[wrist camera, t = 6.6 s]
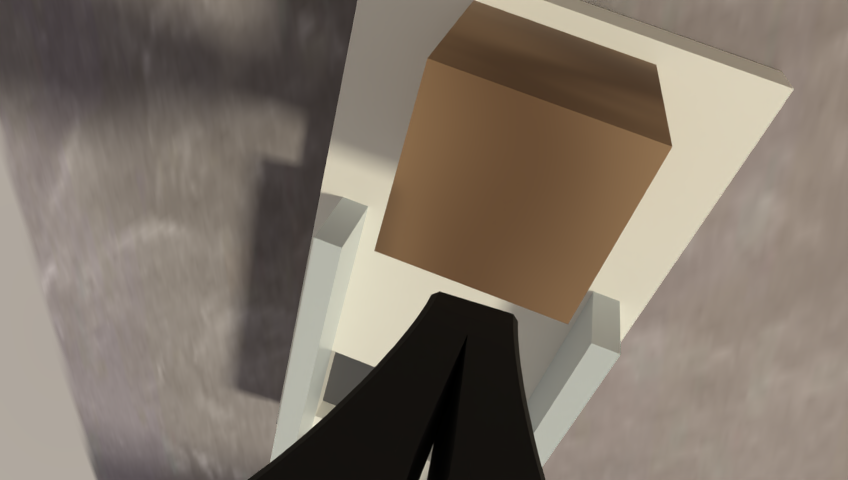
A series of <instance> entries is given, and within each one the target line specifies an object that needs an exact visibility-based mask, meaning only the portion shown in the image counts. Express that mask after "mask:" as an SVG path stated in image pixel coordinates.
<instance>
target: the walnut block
mask: <svg viewBox="0 0 848 480" xmlns="http://www.w3.org/2000/svg"><path fill="white" fill-rule="evenodd" d="M671 148H672V142H671V137H670V132H669V127H668V122H667V117H666V112H665V106H664V101H663V96H662V91H661V86H660V81H659V76H658V71H657V65H656V64H653V63H650V62H647V61H644V60H641V59H639V58H636V57H633V56H630V55H627V54H625V53H622V52H619V51H616V50H613V49H610V48H608V47H605V46H602V45H599V44H596V43H594V42H591V41H588V40H585V39H582V38H579V37H577V36H574V35H571V34H568V33H565V32H563V31H560V30H557V29H554V28H551V27H548V26H546V25H543V24H540V23H537V22H534V21H532V20H529V19H526V18H523V17H520V16H517V15H515V14H512V13H509V12H506V11H503V10H501V9H498V8H495V7H492V6H489V5H486V4H484V3H481V2H478V1H475V0H473V2H472V3H471V4H470V5H469V7H468V8H467V9H466V10H465V12H464V13H463V14H462V15H461V17H460V18H459V19H458V20H457V22H456V23H455V24H454V25H453V27H452V28H451V29H450V30H449V32H448V33H447V34H446V35H445V37H444V38H443V39H442V40H441V42H440V43H439V44H438V45H437V47H436V48H435V49H434V50H433V52H432V53H431V54H430V55H429V57H428V58H427V61H426V65H425V68H424V72H423V76H422V79H421V83H420V87H419V90H418V94H417V97H416V101H415V105H414V108H413V112H412V116H411V119H410V123H409V126H408V130H407V134H406V137H405V141H404V145H403V148H402V152H401V155H400V159H399V163H398V166H397V170H396V174H395V177H394V181H393V184H392V188H391V192H390V195H389V199H388V203H387V206H386V210H385V213H384V217H383V221H382V224H381V228H380V232H379V235H378V239H377V243H376V246H375V250H374V251H376V252H378V253H381V254H384V255H386V256H389V257H392V258H394V259H397V260H400V261H402V262H405V263H407V264H410V265H413V266H415V267H418V268H421V269H423V270H426V271H429V272H431V273H434V274H436V275H439V276H442V277H444V278H447V279H450V280H452V281H455V282H458V283H460V284H463V285H465V286H468V287H471V288H473V289H476V290H479V291H481V292H484V293H487V294H489V295H492V296H494V297H497V298H500V299H502V300H505V301H508V302H510V303H513V304H516V305H518V306H521V307H523V308H526V309H529V310H531V311H534V312H537V313H539V314H542V315H545V316H547V317H550V318H552V319H555V320H558V321H560V322H563V323H566V324H569V322H570V320H571V319H572V317H573V315H574V313H575V312H576V310H577V308H578V307H579V305H580V303H581V302H582V300H583V298H584V296H585V295H586V293H587V291H588V290H589V288H590V286H591V285H592V283H593V281H594V279H595V278H596V276H597V274H598V273H599V271H600V269H601V267H602V266H603V264H604V262H605V261H606V259H607V257H608V256H609V254H610V252H611V250H612V249H613V247H614V245H615V244H616V242H617V240H618V239H619V237H620V235H621V233H622V232H623V230H624V228H625V227H626V225H627V223H628V222H629V220H630V218H631V216H632V215H633V213H634V211H635V210H636V208H637V206H638V204H639V203H640V201H641V199H642V198H643V196H644V194H645V193H646V191H647V189H648V187H649V186H650V184H651V182H652V181H653V179H654V177H655V176H656V174H657V172H658V170H659V169H660V167H661V165H662V164H663V162H664V160H665V159H666V157H667V155H668V153H669V152H670V150H671Z"/></svg>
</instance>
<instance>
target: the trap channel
mask: <svg viewBox="0 0 848 480" xmlns="http://www.w3.org/2000/svg"><path fill="white" fill-rule="evenodd" d="M475 1H478V2H481V3H484V4H486V5H489V6H492V7H495V8H498V9H501V10H503V11H506V12H509V13H512V14H515V15H517V16H520V17H523V18H526V19H529V20H532V21H534V22H537V23H540V24H543V25H546V26H548V27H551V28H554V29H557V30H560V31H563V32H565V33H568V34H571V35H574V36H577V37H579V38H582V39H585V40H588V41H591V42H594V43H596V44H599V45H602V46H605V47H608V48H610V49H613V50H616V51H619V52H622V53H625V54H627V55H630V56H633V57H636V58H639V59H641V60H644V61H647V62H650V63H653V64H656V65H657V71H658V76H659V81H660V86H661V91H662V96H663V101H664V106H665V112H666V117H667V122H668V127H669V132H670V137H671V142H672V148H671V150H670V152H669V153H668V155H667V157H666V159H665V160H664V162H663V164H662V165H661V167H660V169H659V170H658V172H657V174H656V176H655V177H654V179H653V181H652V182H651V184H650V186H649V187H648V189H647V191H646V193H645V194H644V196H643V198H642V199H641V201H640V203H639V204H638V206H637V208H636V210H635V211H634V213H633V215H632V216H631V218H630V220H629V222H628V223H627V225H626V227H625V228H624V230H623V232H622V233H621V235H620V237H619V239H618V240H617V242H616V244H615V245H614V247H613V249H612V250H611V252H610V254H609V256H608V257H607V259H606V261H605V262H604V264H603V266H602V267H601V269H600V271H599V273H598V274H597V276H596V278H595V279H594V281H593V283H592V285H591V286H590V288H589V290H588V291H587V293H586V295H585V296H584V298H583V300H582V302H581V303H580V305H579V307H578V308H577V310H576V312H575V313H574V315H573V317H572V319H571V320H570V322H569V324H566V323H563V322H560V321H558V320H555V319H552V318H550V317H547V316H545V315H542V314H539V313H537V312H534V311H531V310H529V309H526V308H523V307H521V306H518V305H516V304H513V303H510V302H508V301H505V300H502V299H500V298H497V297H494V296H492V295H489V294H487V293H484V292H481V291H479V290H476V289H473V288H471V287H468V286H465V285H463V284H460V283H458V282H455V281H452V280H450V279H447V278H444V277H442V276H439V275H436V274H434V273H431V272H429V271H426V270H423V269H421V268H418V267H415V266H413V265H410V264H407V263H405V262H402V261H400V260H397V259H394V258H392V257H389V256H386V255H384V254H381V253H378V252H376V251H374V250H375V246H376V243H377V239H378V235H379V232H380V228H381V224H382V221H383V217H384V213H385V210H386V206H387V203H388V199H389V195H390V192H391V188H392V184H393V181H394V177H395V174H396V170H397V166H398V163H399V159H400V155H401V152H402V148H403V145H404V141H405V137H406V134H407V130H408V126H409V123H410V119H411V116H412V112H413V108H414V105H415V101H416V97H417V94H418V90H419V87H420V83H421V79H422V76H423V72H424V68H425V65H426V61H427V58H428V57H429V55H430V54H431V53H432V52H433V50H434V49H435V48H436V47H437V45H438V44H439V43H440V42H441V40H442V39H443V38H444V37H445V35H446V34H447V33H448V32H449V30H450V29H451V28H452V27H453V25H454V24H455V23H456V22H457V20H458V19H459V18H460V17H461V15H462V14H463V13H464V12H465V10H466V9H467V8H468V7H469V5H470V4H471V3H472V2H473V0H357V5H356V11H355V16H354V21H353V26H352V31H351V37H350V42H349V47H348V52H347V57H346V63H345V68H344V73H343V78H342V83H341V89H340V94H339V99H338V104H337V109H336V115H335V120H334V125H333V130H332V135H331V141H330V146H329V151H328V156H327V161H326V167H325V172H324V177H323V182H322V187H321V193H320V198H319V203H318V208H317V213H316V219H315V224H314V229H313V234H312V239H311V245H310V250H309V255H308V260H307V265H306V271H305V276H304V281H303V286H302V291H301V297H300V302H299V307H298V312H297V317H296V323H295V328H294V333H293V338H292V343H291V349H290V354H289V359H288V364H287V369H286V375H285V380H284V385H283V390H282V395H281V401H280V406H279V411H278V416H277V421H276V424H277V429H276V435H275V440H274V445H273V450H272V455H271V460H270V462H272V461H273V460H274V459H275V458H277V457H278V456H279V455H280V454H282V453H283V452H284V451H285V450H286V449H288V448H289V447H290V446H291V445H293V444H294V443H295V442H296V441H297V440H299V439H300V438H301V437H302V436H303V435H304V434H306V433H307V432H308V431H309V430H310V429H311V428H312V427H314V426H315V425H316V424H317V423H318V422H319V421H320V420H322V419H323V418H324V417H325V416H326V415H327V414H328V413H329V412H330V411H331V410H332V409H333V408H334V407H335V406H336V405H337V404H338V403H340V402H341V401H342V400H343V399H344V398H345V397H346V396H347V395H348V394H349V393H350V392H351V391H352V390H353V389H354V388H355V387H356V386H357V385H358V384H359V383H360V382H361V381H362V380H363V379H364V378H365V377H366V376H367V375H368V374H369V373H370V372H371V371H372V370H373V369H374V368H375V366H376V365H377V364H378V363H379V362H380V361H381V360H382V359H383V358H384V357H385V355H386V354H387V353H388V352H389V351H390V350H391V349H392V348H393V347H394V346H395V344H396V343H397V342H398V341H399V340H400V338H401V337H402V336H403V335H404V333H405V332H406V331H407V330H408V329H409V327H410V326H411V325H412V323H413V322H414V321H415V319H416V318H417V317H418V315H419V314H420V312H421V311H422V309H423V308H424V306H425V305H426V303H427V302H428V300H429V298H430V296H431V295H432V294H434V293H437V292H439V291H440V292H443V293H447V294H450V295H453V296H457V297H460V298H463V299H466V300H470V301H473V302H476V303H479V304H483V305H486V306H489V307H492V308H496V309H499V310H502V311H506V312H509V313H512V314H514V316H515V317H516V319H517V321H518V342H519V353H520V362H521V369H522V376H523V383H524V389H525V394H526V400H527V405H528V410H529V414H530V419H531V424H532V428H533V433H534V438H535V442H536V446H537V450H538V454H539V458H540V462H541V466H542V467H543V465H544V464H545V462H546V461H547V460H548V458H549V457H550V455H551V454H552V452H553V451H554V450H555V448H556V447H557V445H558V444H559V442H560V441H561V439H562V438H563V437H564V435H565V434H566V432H567V431H568V429H569V428H570V427H571V425H572V424H573V422H574V421H575V419H576V418H577V417H578V415H579V414H580V412H581V411H582V409H583V408H584V406H585V405H586V404H587V402H588V401H589V399H590V398H591V396H592V395H593V394H594V392H595V391H596V389H597V388H598V386H599V385H600V384H601V382H602V381H603V379H604V378H605V376H606V375H607V373H608V372H609V371H610V369H611V368H612V366H613V365H614V363H615V362H616V361H617V359H618V358H619V356H620V355H621V341H622V340H623V338H624V337H625V335H626V334H627V332H628V331H629V329H630V328H631V327H632V325H633V324H634V322H635V321H636V319H637V318H638V316H639V315H640V313H641V312H642V310H643V309H644V308H645V306H646V305H647V303H648V302H649V300H650V299H651V297H652V296H653V294H654V293H655V291H656V290H657V289H658V287H659V286H660V284H661V283H662V281H663V280H664V278H665V277H666V275H667V274H668V272H669V271H670V270H671V268H672V267H673V265H674V264H675V262H676V261H677V259H678V258H679V256H680V255H681V253H682V252H683V251H684V249H685V248H686V246H687V245H688V243H689V242H690V240H691V239H692V237H693V236H694V234H695V233H696V232H697V230H698V229H699V227H700V226H701V224H702V223H703V221H704V220H705V218H706V217H707V215H708V214H709V213H710V211H711V210H712V208H713V207H714V205H715V204H716V202H717V201H718V199H719V198H720V196H721V195H722V194H723V192H724V191H725V189H726V188H727V186H728V185H729V183H730V182H731V180H732V179H733V177H734V176H735V175H736V173H737V172H738V170H739V169H740V167H741V166H742V164H743V163H744V161H745V160H746V158H747V157H748V156H749V154H750V153H751V151H752V150H753V148H754V147H755V145H756V144H757V142H758V141H759V139H760V138H761V137H762V135H763V134H764V132H765V131H766V129H767V128H768V126H769V125H770V123H771V122H772V120H773V119H774V118H775V116H776V115H777V113H778V112H779V110H780V109H781V107H782V106H783V104H784V103H785V101H786V100H787V99H788V97H789V96H790V94H791V93H792V91H793V90H794V88H793V87H792V86H791V84H790V83H789V81H788V80H787V78H786V77H785V76H784V74H783V73H782V71H779V70H776V69H773V68H770V67H768V66H765V65H762V64H759V63H756V62H753V61H751V60H748V59H745V58H742V57H739V56H736V55H734V54H731V53H728V52H725V51H722V50H719V49H717V48H714V47H711V46H708V45H705V44H703V43H700V42H697V41H694V40H691V39H688V38H686V37H683V36H680V35H677V34H674V33H671V32H669V31H666V30H663V29H660V28H657V27H654V26H652V25H649V24H646V23H643V22H640V21H637V20H635V19H632V18H629V17H626V16H623V15H620V14H618V13H615V12H612V11H609V10H606V9H603V8H601V7H598V6H595V5H592V4H589V3H586V2H584V1H581V0H475ZM433 445H434V443H433ZM432 450H433V446H432V449H431V451H430V454H429V456H428V459H427V461H426V464H425V466H424V469H423V471H422V474H421V477H420V479H419V480H427V476H428V471H429V466H430V460H431V455H432Z"/></svg>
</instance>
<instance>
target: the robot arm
mask: <svg viewBox="0 0 848 480" xmlns="http://www.w3.org/2000/svg"><path fill="white" fill-rule="evenodd" d="M433 443H434V445H433ZM432 446H433V450H432V455H431V460H430V466H429V471H428V476H427V480H545V477H544V473H543V469H542V466H541V462H540V458H539V454H538V450H537V446H536V442H535V438H534V433H533V428H532V424H531V419H530V414H529V410H528V405H527V400H526V394H525V389H524V383H523V376H522V369H521V362H520V353H519V342H518V321H517V319H516V317H515V316H514V314H512V313H509V312H506V311H502V310H499V309H496V308H492V307H489V306H486V305H483V304H479V303H476V302H473V301H470V300H466V299H463V298H460V297H457V296H453V295H450V294H447V293H443V292H440V291H439V292H437V293H434V294H432V295H431V296H430V298H429V300H428V302H427V303H426V305H425V306H424V308H423V309H422V311H421V312H420V314H419V315H418V317H417V318H416V319H415V321H414V322H413V323H412V325H411V326H410V327H409V329H408V330H407V331H406V332H405V333H404V335H403V336H402V337H401V338H400V340H399V341H398V342H397V343H396V344H395V346H394V347H393V348H392V349H391V350H390V351H389V352H388V353H387V354H386V355H385V357H384V358H383V359H382V360H381V361H380V362H379V363H378V364H377V365H376V366H375V368H374V369H373V370H372V371H371V372H370V373H369V374H368V375H367V376H366V377H365V378H364V379H363V380H362V381H361V382H360V383H359V384H358V385H357V386H356V387H355V388H354V389H353V390H352V391H351V392H350V393H349V394H348V395H347V396H346V397H345V398H344V399H343V400H342V401H341V402H340V403H338V404H337V405H336V406H335V407H334V408H333V409H332V410H331V411H330V412H329V413H328V414H327V415H326V416H325V417H324V418H323V419H322V420H320V421H319V422H318V423H317V424H316V425H315V426H314V427H312V428H311V429H310V430H309V431H308V432H307V433H306V434H304V435H303V436H302V437H301V438H300V439H299V440H297V441H296V442H295V443H294V444H293V445H291V446H290V447H289V448H288V449H286V450H285V451H284V452H283V453H282V454H280V455H279V456H278V457H277V458H275V459H274V460H273V461H272V462H270V463H269V464H268V465H267V466H265V467H264V468H263V469H261V470H260V471H259V472H257V473H256V474H255V475H253V476H252V477H251V478H249V479H248V480H419V479H420V477H421V474H422V471H423V469H424V466H425V464H426V461H427V459H428V456H429V454H430V451H431V449H432Z"/></svg>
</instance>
